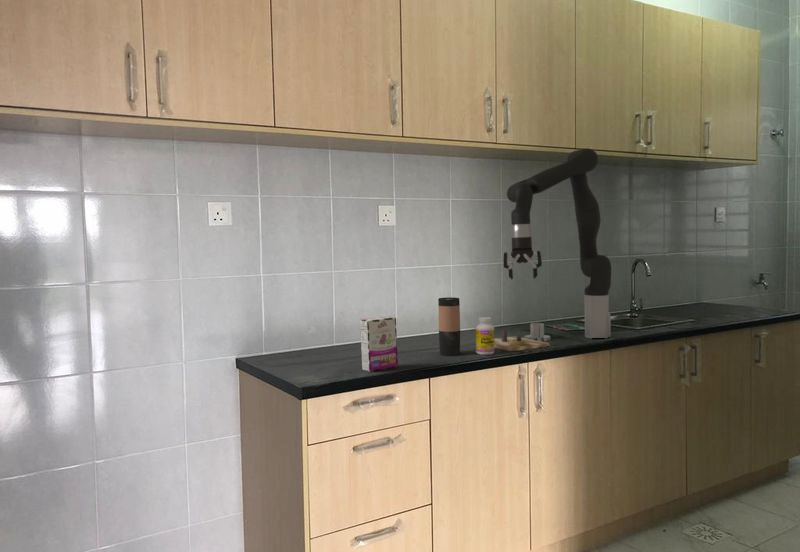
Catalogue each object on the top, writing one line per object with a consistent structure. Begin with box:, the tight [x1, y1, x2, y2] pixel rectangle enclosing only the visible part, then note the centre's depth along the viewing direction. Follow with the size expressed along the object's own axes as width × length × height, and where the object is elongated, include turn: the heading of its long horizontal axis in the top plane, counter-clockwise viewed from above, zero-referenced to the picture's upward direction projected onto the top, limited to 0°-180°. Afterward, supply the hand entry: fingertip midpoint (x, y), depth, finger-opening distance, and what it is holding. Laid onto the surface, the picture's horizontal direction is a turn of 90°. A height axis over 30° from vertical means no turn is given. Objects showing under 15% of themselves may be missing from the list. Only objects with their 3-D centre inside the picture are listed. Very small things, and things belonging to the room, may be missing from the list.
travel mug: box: [437, 296, 461, 357], centre depth 227 cm, size 8×8×20 cm
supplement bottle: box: [474, 316, 495, 356], centre depth 227 cm, size 7×7×13 cm
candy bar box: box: [359, 315, 399, 373], centre depth 205 cm, size 11×5×16 cm, turn 126°
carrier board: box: [494, 329, 550, 352], centre depth 244 cm, size 18×21×6 cm
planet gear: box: [523, 322, 551, 342], centre depth 256 cm, size 10×10×6 cm
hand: (523, 278), depth 244 cm, fingers open, 8 cm apart
